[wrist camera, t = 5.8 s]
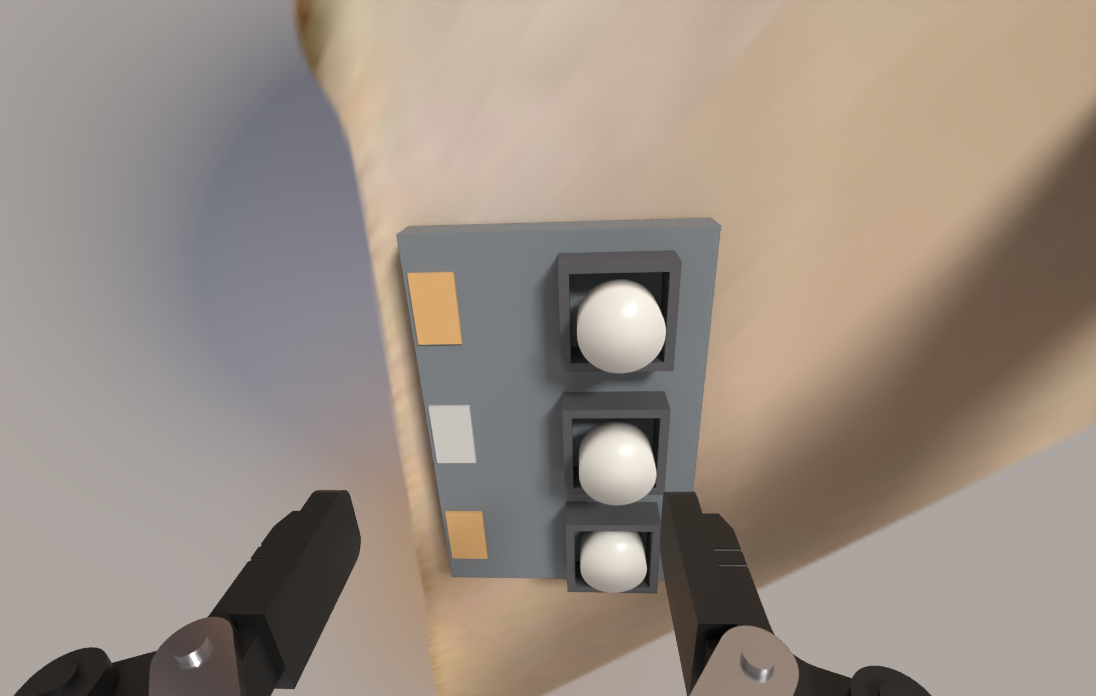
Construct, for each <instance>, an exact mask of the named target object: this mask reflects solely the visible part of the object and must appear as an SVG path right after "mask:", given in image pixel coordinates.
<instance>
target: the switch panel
mask: <svg viewBox="0 0 1096 696" xmlns="http://www.w3.org/2000/svg"><path fill="white" fill-rule="evenodd" d="M720 230H721V225H720V224H718V223H717V222H716V221H714V220H713V219H712V218H687V219H652V220H616V221H580V222H545V223H509V224H474V225H438V226H408V227H407V228H405V229H404V230H402V231H401V232H399V233H398V234H396V235H397V242H398V248H399V254H400V260H401V266H402V272H403V278H404V285H405V291H406V297H407V303H408V309H409V315H410V321H411V327H412V334H413V340H414V346H415V352H416V358H417V364H418V370H419V377H420V383H421V389H422V395H423V401H424V407H425V413H426V419H427V426H428V432H429V438H430V444H431V450H432V456H433V462H434V469H435V475H436V481H437V487H438V493H439V499H440V505H441V511H442V518H443V524H444V530H445V536H446V542H447V548H448V554H449V561H450V567H451V573H452V577H486V578H553V579H567V586H568V592H603V591H600V590H597V589H595V588H593V587H591V586H590V585H589V584H587V582H586V581H585V580H584V579H583V577H582V575H581V569H580V541H581V537H582V535H583V533H584V532H585V531H612V532H639V533H640V535H641V537H642V540H643V546H644V552H645V559H646V565H647V572H646V576H645V578H644V579H643V581H642V582H641V583H640V584H639V585H637V586H636V587H634V588H633V589H630V590H628V591H624V592H618V593H657V585H658V580H665V578H664V573H663V568H662V563H661V554H660V530H661V516H662V502H663V494H664V492H693V486H694V477H695V467H696V458H697V448H698V439H699V429H700V420H701V410H702V401H703V391H704V382H705V372H706V363H707V354H708V344H709V335H710V325H711V316H712V306H713V297H714V287H715V278H716V268H717V259H718V249H719V240H720ZM612 279H627V280H631V281H635V282H637V283H639V284H641V285H642V286H644V287H645V288H646V289H648V290H649V291H650V292H651V294H652V295H653V296H654V298H655V300H656V302H657V304H658V307H659V309H660V311H661V314H662V316H663V319H664V322H665V327H666V336H665V341H664V344H663V347H662V349H661V351H660V352H659V354H658V355H657V356H656V358H655V359H654V360H653V361H652V362H650V363H649V364H648V365H646V366H645V367H643V368H641V369H639V370H636V371H633V372H629V373H611V372H607V371H603V370H601V369H599V368H597V367H595V366H594V365H592V364H591V363H590V362H589V361H588V360H587V359H586V358H585V357H584V355H583V354H582V352H581V350H580V347H579V345H578V340H577V313H578V308H579V305H580V303H581V301H582V299H583V298H584V296H585V295H586V294H587V293H588V292H589V291H590V290H591V289H592V288H593V287H595V286H596V285H598V284H600V283H602V282H605V281H608V280H612ZM608 422H623V423H628V424H631V425H633V426H635V427H637V428H639V429H640V430H641V431H642V432H643V433H644V434H645V435H646V436H647V438H648V440H649V442H650V445H651V449H652V454H653V458H654V463H655V467H656V481H655V484H654V486H653V488H652V489H651V491H650V492H649V493H648V494H647V495H646V496H644V497H643V498H641V499H640V500H638V501H636V502H633V503H630V504H626V505H608V504H604V503H601V502H598V501H596V500H595V499H593V498H592V497H590V496H589V495H588V494H587V493H586V492H585V491H584V489H583V488H582V486H581V483H580V480H579V447H580V443H581V441H582V439H583V437H584V436H585V435H586V434H587V433H588V432H589V431H590V430H591V429H593V428H594V427H596V426H598V425H601V424H604V423H608Z"/></svg>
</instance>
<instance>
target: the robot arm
mask: <svg viewBox="0 0 1096 696" xmlns="http://www.w3.org/2000/svg"><path fill="white" fill-rule="evenodd" d="M360 544H361V537H360V532H359V528H358V524H357V520H356V516H355V512H354V508H353V505H352V501H351V497H350V494H349V493H348V491H346V490H317V491H315V492H313V493H312V494H311V496H310V497H309V499H308V500H307V502H306V503H305V504H304V506H303V508H302V509H301V510H300V511H292V512H291V513H290V514H288V515H287V516H286V517H285V518H283V519H282V520H281V521H280V522H278V523H277V524H276V525H275V526H274V527H273V528H272V530H271V531H270V532H269V534H268V535H267V536H266V538H265V539H264V541H263V542H262V543H261V547H258V549H257V550H256V551H255V553H254V554H253V556H252V557H251V561H250V562H247V564H246V565H245V567H244V568H243V570H242V571H241V572H240V574H239V575H238V576H237V578H236V579H235V580H234V582H233V583H232V585H231V586H230V587H229V589H228V590H227V592H226V593H225V594H224V596H223V597H222V598H221V600H220V601H219V602H218V604H217V605H216V607H215V608H214V609H213V611H212V612H211V614H210V615H209V616H208V617H207V618H203V619H199V620H197V621H194V622H192V623H190V624H188V625H186V626H184V627H182V628H181V629H179V630H178V631H176V632H175V633H174V634H172V635H171V636H170V637H169V638H168V639H167V640H166V641H165V642H164V643H163V644H162V645H161V646H160V647H159V649H158V650H157V651H154V652H151V653H147V654H143V655H140V656H136V657H132V658H128V659H125V660H121V661H118V662H114V663H111V661H110V659H109V658H108V656H107V655H106V653H105V652H104V651H103V650H102V649H99V648H91V647H90V648H83V649H79V650H75V651H73V652H70V653H67V654H65V655H63V656H61V657H59V658H57V659H55V660H54V661H52V662H50V663H49V664H47V665H46V666H44V667H43V668H42V669H40V670H39V671H38V672H37V673H35V674H34V675H33V676H32V677H31V678H30V679H29V680H28V681H27V682H26V683H25V684H24V685H23V686H22V687H21V688H20V689H19V690H18V691H17V692H16V694H15V695H14V696H271V694H272V692H273V690H274V688H275V689H276V688H277V689H295V687H296V685H297V683H298V681H299V679H300V677H301V674H302V672H303V670H304V668H305V666H306V664H307V662H308V660H309V658H310V656H311V654H312V652H313V650H314V648H315V646H316V644H317V642H318V639H319V637H320V635H321V633H322V631H323V629H324V627H325V625H326V623H327V621H328V619H329V617H330V614H331V612H332V611H333V609H334V606H335V604H336V602H337V600H338V598H339V596H340V594H341V592H342V590H343V588H344V586H345V584H346V582H347V580H348V578H349V576H350V573H351V571H352V569H353V567H354V565H355V563H356V561H357V559H358V556H359V552H360ZM660 554H661V563H662V568H663V573H664V578H665V584H666V589H667V594H668V599H669V604H670V610H671V615H672V620H673V625H674V630H675V635H676V641H677V646H678V650H679V656H680V661H681V666H682V672H683V676H684V682H685V687H686V692H687V696H931V695H930V694H929V693H928V692H927V691H926V690H925V689H924V688H923V687H922V686H921V685H919V684H918V683H917V682H916V681H914V680H913V679H911V678H910V677H908V676H906V675H904V674H902V673H901V672H898V671H896V670H894V669H891V668H887V667H882V666H868V667H864V668H862V669H859V670H858V671H857V672H856V673H855V674H854V676H853V678H849V677H846V676H843V675H840V674H837V673H833V672H830V671H828V670H824V669H821V668H818V667H816V666H813V665H810V664H808V663H806V662H804V661H803V660H801V659H799V658H798V657H796V656H795V655H793V654H792V652H791V651H790V649H789V648H788V647H787V646H786V645H785V644H784V643H783V642H782V641H781V640H780V639H779V638H778V637H776V636H775V634H774V633H773V631H772V629H771V627H770V624H769V622H768V619H767V616H766V614H765V611H764V608H763V606H762V603H761V601H760V598H759V596H758V593H757V590H756V587H755V585H754V582H753V580H752V577H751V574H750V572H749V569H748V568H747V565H746V561H745V559H744V556H743V553H742V552H741V548H740V545H739V543H738V540H737V538H736V535H735V532H734V530H733V529H732V528H731V527H730V525H729V524H728V523H727V522H726V521H725V520H724V519H723V518H722V517H721V516H720V515H719V514H702V511H701V508H700V504H699V501H698V498H697V495H696V493H695V492H664V494H663V502H662V516H661V530H660Z"/></svg>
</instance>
